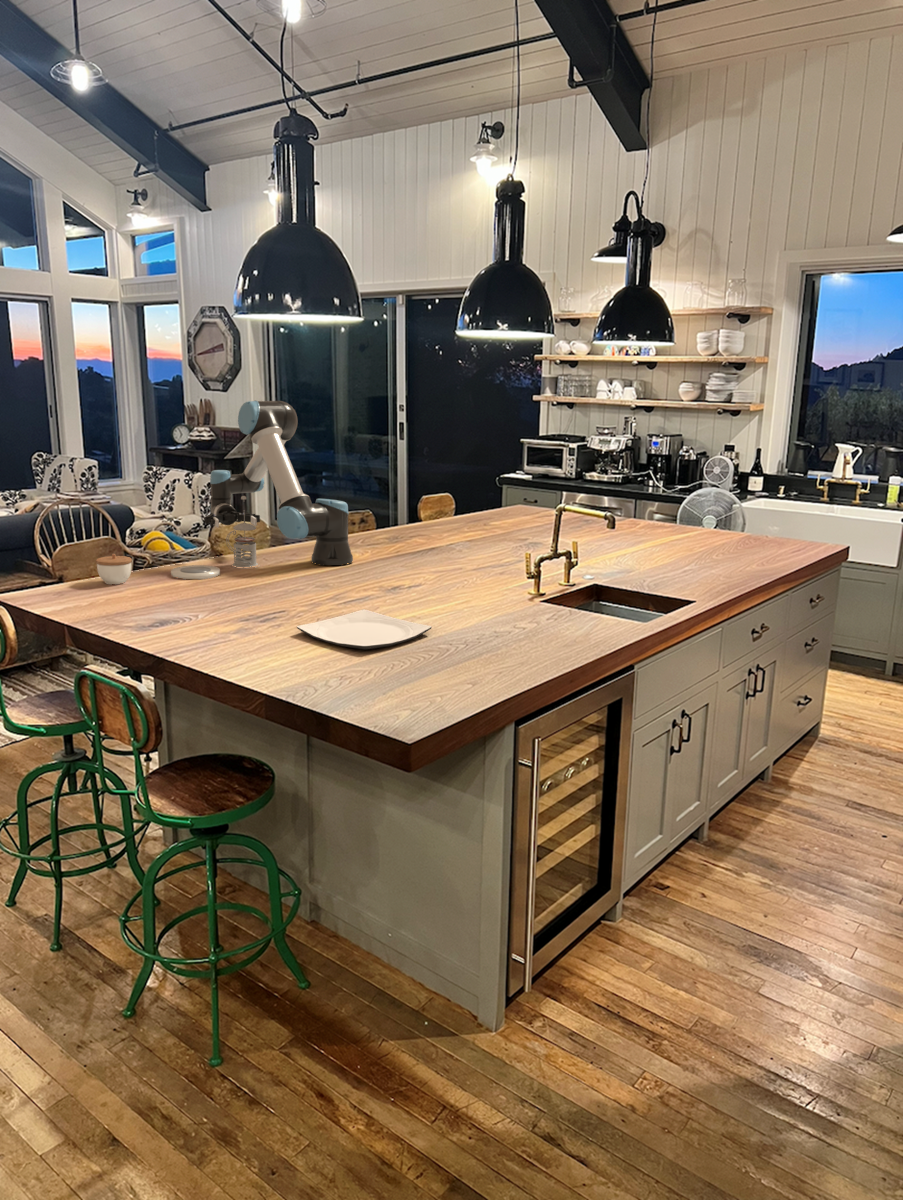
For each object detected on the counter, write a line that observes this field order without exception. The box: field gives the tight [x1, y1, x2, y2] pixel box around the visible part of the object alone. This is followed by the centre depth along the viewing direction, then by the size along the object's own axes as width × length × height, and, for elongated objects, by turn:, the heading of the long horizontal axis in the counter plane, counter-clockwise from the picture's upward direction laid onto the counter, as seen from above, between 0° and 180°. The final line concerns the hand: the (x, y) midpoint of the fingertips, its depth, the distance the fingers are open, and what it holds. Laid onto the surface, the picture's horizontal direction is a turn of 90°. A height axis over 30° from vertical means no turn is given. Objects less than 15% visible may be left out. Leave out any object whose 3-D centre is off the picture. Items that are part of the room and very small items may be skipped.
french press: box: [225, 495, 259, 567], centre depth 325 cm, size 10×12×25 cm
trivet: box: [170, 564, 221, 580], centre depth 311 cm, size 16×16×2 cm
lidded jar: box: [95, 553, 133, 585], centre depth 296 cm, size 11×11×9 cm
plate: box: [296, 608, 432, 650], centre depth 247 cm, size 29×29×3 cm
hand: (236, 522), depth 333 cm, fingers open, 13 cm apart
